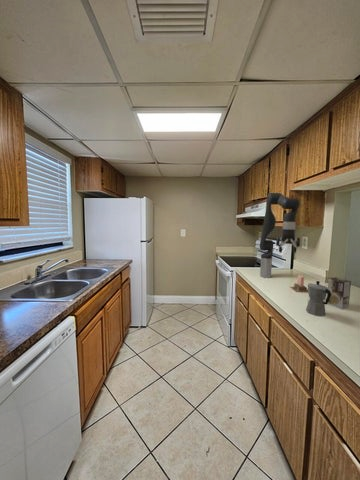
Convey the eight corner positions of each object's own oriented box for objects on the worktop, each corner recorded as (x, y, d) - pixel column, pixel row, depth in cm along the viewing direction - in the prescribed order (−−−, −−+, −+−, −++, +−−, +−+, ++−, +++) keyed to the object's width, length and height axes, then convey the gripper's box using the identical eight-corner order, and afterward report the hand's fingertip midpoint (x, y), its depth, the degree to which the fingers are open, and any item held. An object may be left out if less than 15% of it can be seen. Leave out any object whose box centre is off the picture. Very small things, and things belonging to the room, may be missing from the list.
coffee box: (349, 307, 121) (351, 281, 119) (342, 309, 118) (344, 282, 117) (332, 302, 129) (335, 277, 127) (326, 303, 127) (328, 278, 125)
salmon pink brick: (297, 288, 151) (297, 275, 150) (299, 288, 151) (300, 275, 150) (300, 290, 146) (301, 277, 145) (303, 290, 146) (304, 277, 145)
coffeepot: (299, 307, 120) (301, 277, 118) (314, 307, 121) (316, 277, 119) (319, 320, 105) (322, 286, 103) (336, 320, 106) (340, 286, 104)
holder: (289, 287, 155) (289, 281, 155) (303, 288, 154) (303, 282, 153) (296, 293, 143) (296, 286, 143) (311, 294, 142) (312, 287, 142)
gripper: (297, 228, 140) (295, 252, 141) (275, 228, 141) (274, 251, 143) (302, 229, 132) (301, 253, 134) (279, 228, 134) (278, 253, 136)
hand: (287, 252), depth 138 cm, fingers open, 8 cm apart
